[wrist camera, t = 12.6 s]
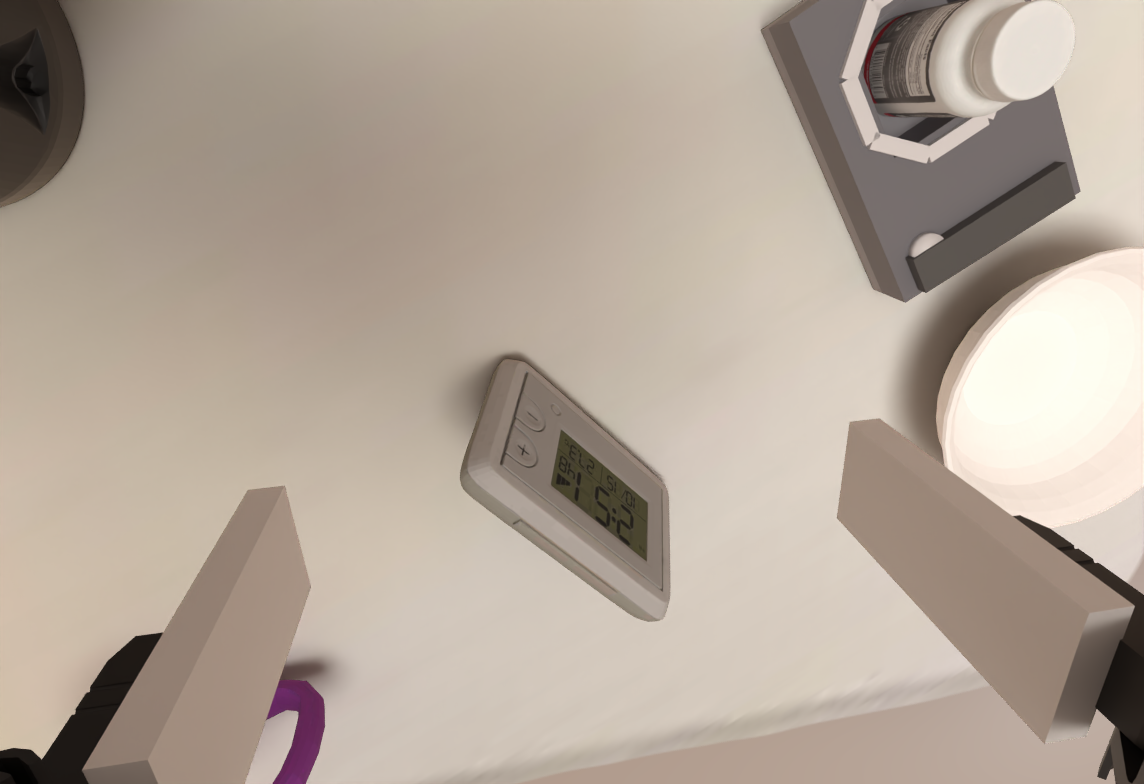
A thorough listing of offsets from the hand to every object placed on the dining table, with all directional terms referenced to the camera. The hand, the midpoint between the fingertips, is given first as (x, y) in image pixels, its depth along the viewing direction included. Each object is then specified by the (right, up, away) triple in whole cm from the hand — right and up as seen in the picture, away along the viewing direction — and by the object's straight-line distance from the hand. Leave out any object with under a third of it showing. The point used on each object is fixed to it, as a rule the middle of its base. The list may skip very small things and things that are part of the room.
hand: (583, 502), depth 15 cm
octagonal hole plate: (+20, +19, +24) cm, 37 cm away
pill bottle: (+18, +21, +22) cm, 36 cm away
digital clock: (-1, -1, +30) cm, 30 cm away
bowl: (+32, +5, +33) cm, 46 cm away
